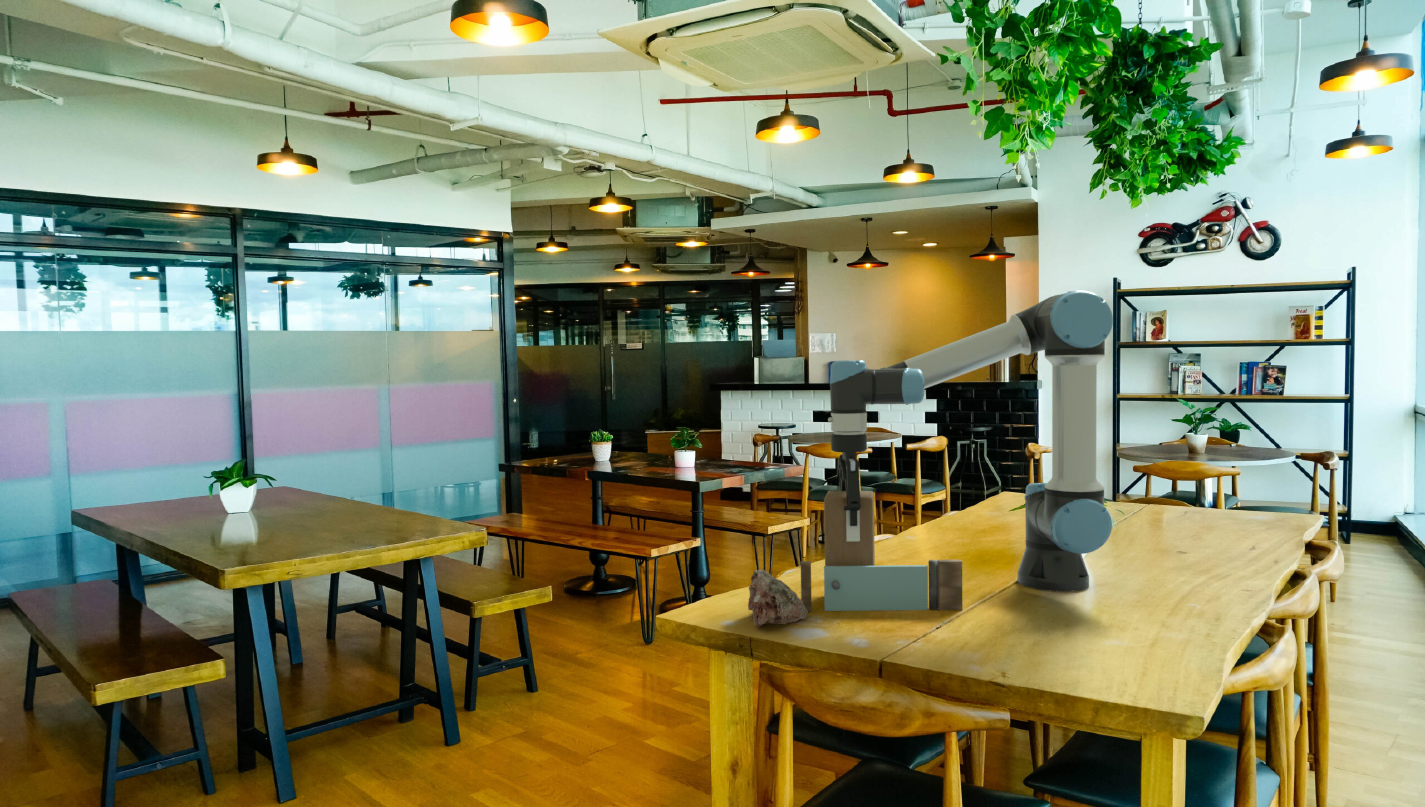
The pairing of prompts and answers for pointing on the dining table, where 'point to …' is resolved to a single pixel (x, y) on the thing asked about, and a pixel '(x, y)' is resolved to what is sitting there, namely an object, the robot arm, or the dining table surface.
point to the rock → (773, 601)
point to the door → (876, 587)
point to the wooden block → (835, 531)
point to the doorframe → (941, 584)
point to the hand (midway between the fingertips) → (850, 535)
